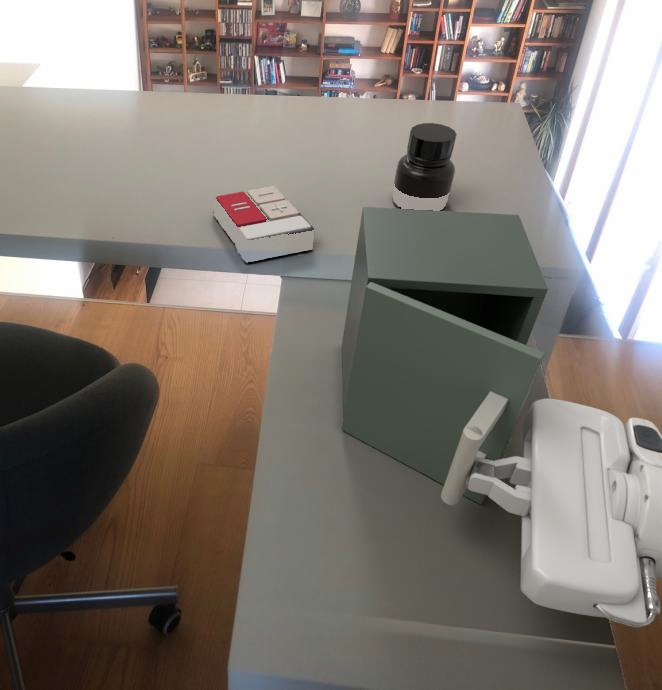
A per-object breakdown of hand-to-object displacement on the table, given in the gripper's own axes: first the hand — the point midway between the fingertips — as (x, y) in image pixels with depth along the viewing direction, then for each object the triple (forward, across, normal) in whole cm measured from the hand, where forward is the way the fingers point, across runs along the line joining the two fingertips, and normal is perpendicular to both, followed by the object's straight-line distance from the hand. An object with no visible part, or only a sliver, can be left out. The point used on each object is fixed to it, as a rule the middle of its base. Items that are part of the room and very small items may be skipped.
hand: (469, 472), depth 60 cm
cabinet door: (+5, +5, -10) cm, 12 cm away
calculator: (+32, +46, -9) cm, 57 cm away
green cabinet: (+6, +20, -10) cm, 22 cm away
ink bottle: (+10, +64, -9) cm, 65 cm away
